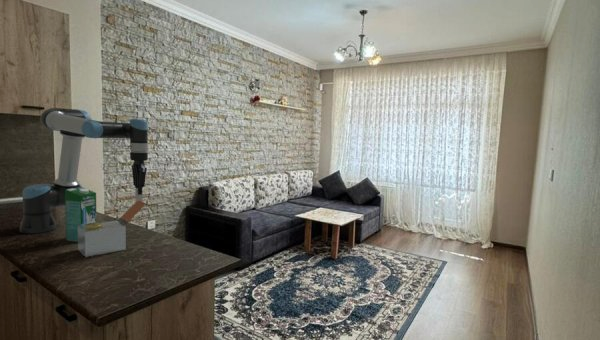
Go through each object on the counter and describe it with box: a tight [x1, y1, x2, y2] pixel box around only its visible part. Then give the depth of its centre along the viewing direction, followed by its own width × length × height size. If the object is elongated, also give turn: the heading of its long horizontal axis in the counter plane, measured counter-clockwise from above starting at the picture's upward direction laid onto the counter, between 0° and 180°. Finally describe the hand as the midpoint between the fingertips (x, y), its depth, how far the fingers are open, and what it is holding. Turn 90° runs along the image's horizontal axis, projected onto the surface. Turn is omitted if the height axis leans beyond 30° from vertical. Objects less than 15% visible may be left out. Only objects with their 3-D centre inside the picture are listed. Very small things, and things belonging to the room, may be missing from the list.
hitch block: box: [77, 220, 127, 258], centre depth 150 cm, size 12×16×11 cm
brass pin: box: [86, 221, 103, 229], centre depth 148 cm, size 6×6×12 cm
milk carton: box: [64, 186, 98, 243], centre depth 162 cm, size 9×9×25 cm
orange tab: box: [118, 200, 147, 225], centre depth 158 cm, size 8×12×1 cm
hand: (139, 200), depth 160 cm, fingers closed
